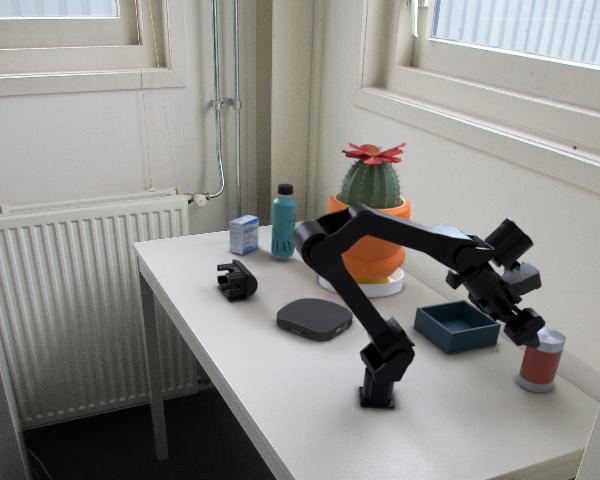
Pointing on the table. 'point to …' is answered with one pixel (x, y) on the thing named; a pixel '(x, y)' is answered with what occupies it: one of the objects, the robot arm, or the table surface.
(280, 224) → the beverage bottle
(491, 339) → the tote
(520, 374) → the tin can
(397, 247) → the potted cactus
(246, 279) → the end cap
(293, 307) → the media streaming box
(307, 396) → the table surface
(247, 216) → the medicine box
